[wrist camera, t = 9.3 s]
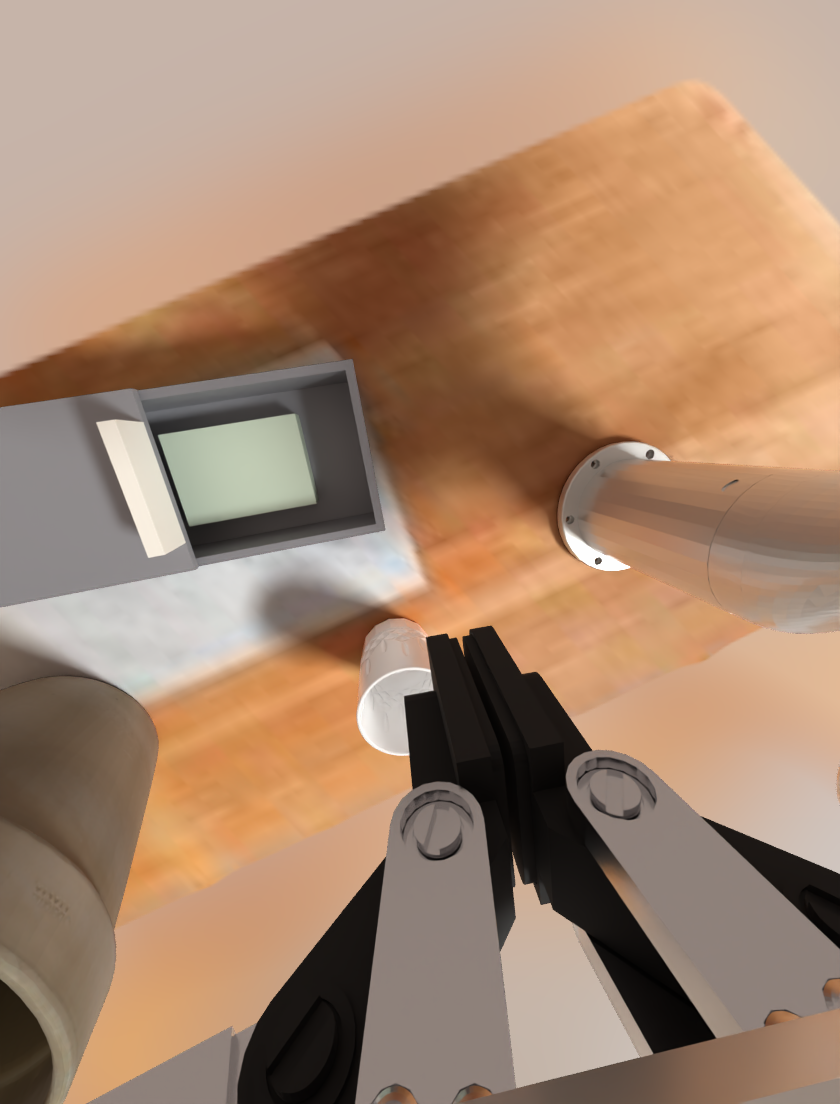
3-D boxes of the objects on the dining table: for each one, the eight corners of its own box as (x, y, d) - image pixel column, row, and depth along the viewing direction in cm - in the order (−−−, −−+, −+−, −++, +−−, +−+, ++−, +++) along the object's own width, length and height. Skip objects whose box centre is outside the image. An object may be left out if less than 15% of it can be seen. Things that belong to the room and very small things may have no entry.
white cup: (348, 622, 38) (345, 683, 28) (426, 603, 38) (449, 655, 29) (367, 690, 40) (370, 767, 30) (441, 670, 41) (466, 740, 31)
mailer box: (353, 373, 32) (352, 358, 26) (381, 516, 35) (385, 530, 30) (95, 412, 30) (32, 405, 24) (151, 559, 33) (108, 583, 28)
